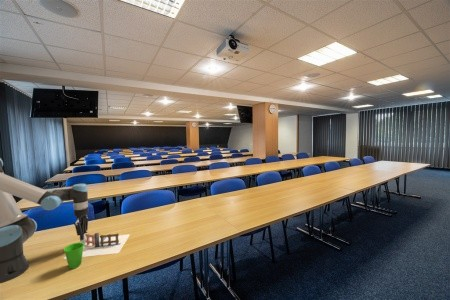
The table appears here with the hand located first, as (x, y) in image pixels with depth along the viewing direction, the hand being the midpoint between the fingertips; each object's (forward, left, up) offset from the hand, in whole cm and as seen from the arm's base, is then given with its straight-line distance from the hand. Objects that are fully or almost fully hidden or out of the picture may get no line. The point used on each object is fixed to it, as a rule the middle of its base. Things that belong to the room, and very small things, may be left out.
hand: (83, 243), depth 125 cm
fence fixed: (-1, -15, -2) cm, 15 cm away
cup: (-20, -6, -2) cm, 21 cm away
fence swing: (+3, -1, -2) cm, 3 cm away
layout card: (0, -10, -2) cm, 10 cm away
